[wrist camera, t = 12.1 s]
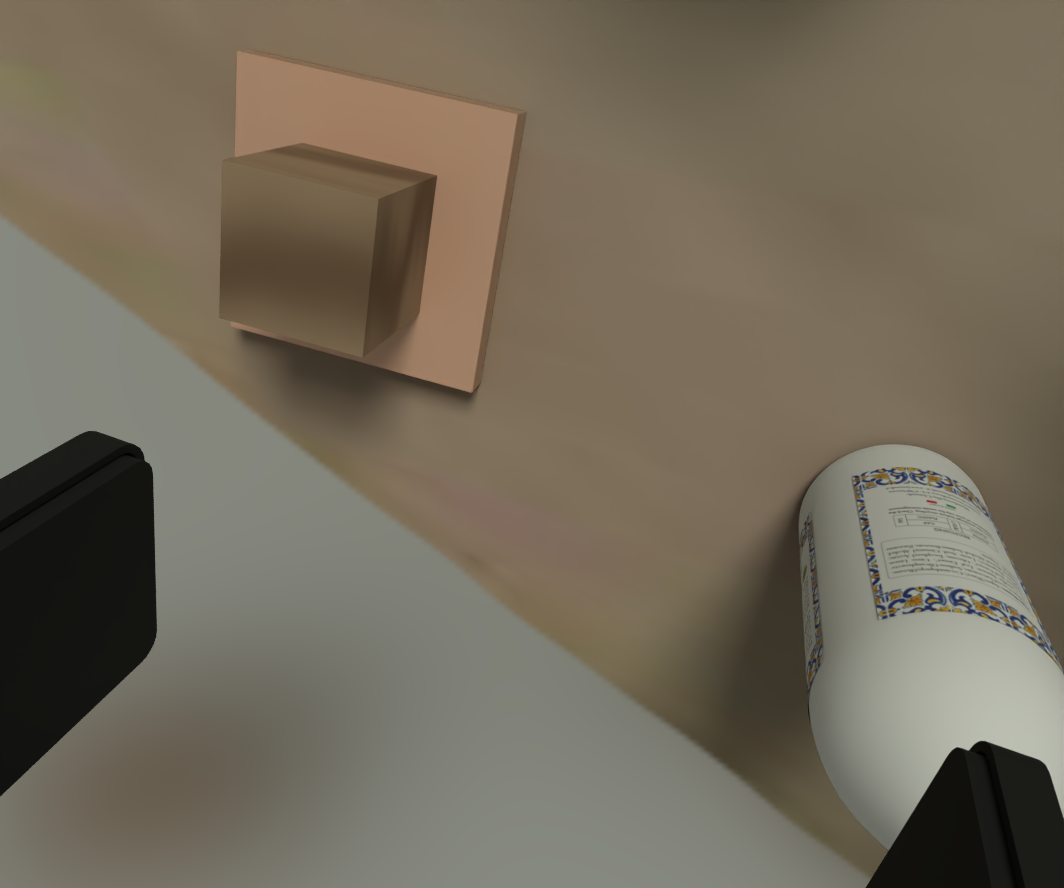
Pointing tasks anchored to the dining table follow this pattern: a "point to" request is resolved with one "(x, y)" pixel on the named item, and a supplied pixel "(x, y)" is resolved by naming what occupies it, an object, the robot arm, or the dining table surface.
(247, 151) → the terracotta tile
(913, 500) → the bath foam
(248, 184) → the walnut cube
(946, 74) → the dining table surface
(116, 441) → the robot arm
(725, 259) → the dining table surface
